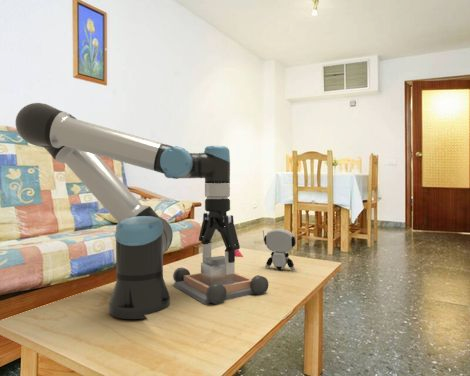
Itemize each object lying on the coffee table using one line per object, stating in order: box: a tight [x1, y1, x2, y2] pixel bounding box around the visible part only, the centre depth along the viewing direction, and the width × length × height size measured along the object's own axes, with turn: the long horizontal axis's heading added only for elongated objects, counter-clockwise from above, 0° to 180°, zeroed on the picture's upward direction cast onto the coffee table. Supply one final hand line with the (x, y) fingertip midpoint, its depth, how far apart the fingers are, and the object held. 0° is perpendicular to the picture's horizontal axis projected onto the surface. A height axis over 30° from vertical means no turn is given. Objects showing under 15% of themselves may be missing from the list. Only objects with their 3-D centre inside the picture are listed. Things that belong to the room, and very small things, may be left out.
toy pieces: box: [235, 249, 244, 258], centre depth 146 cm, size 12×11×4 cm
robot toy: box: [262, 228, 297, 272], centre depth 126 cm, size 12×4×15 cm, turn 64°
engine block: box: [200, 255, 234, 286], centre depth 104 cm, size 8×6×8 cm
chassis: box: [172, 267, 269, 305], centre depth 104 cm, size 20×24×5 cm
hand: (217, 269), depth 104 cm, fingers open, 13 cm apart
